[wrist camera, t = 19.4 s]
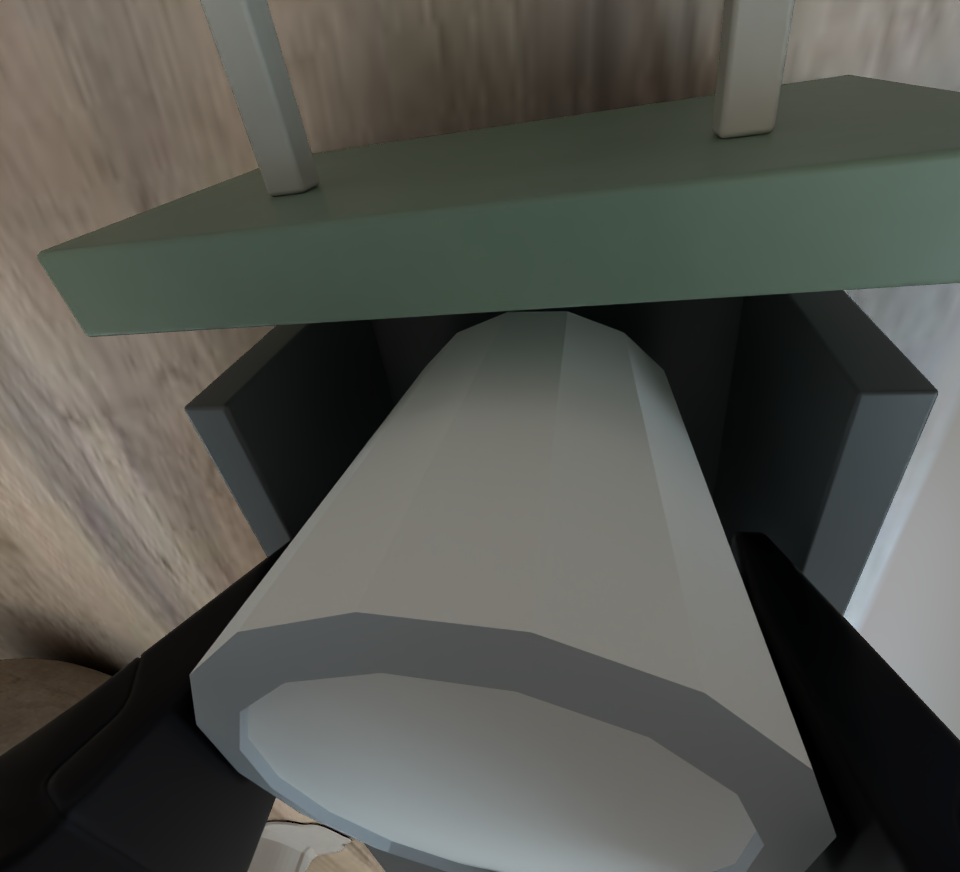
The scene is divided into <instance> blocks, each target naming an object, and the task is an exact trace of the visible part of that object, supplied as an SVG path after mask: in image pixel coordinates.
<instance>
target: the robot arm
mask: <svg viewBox="0 0 960 872" xmlns="http://www.w3.org/2000/svg"><path fill="white" fill-rule="evenodd" d="M294 538H295V537H294ZM294 538H292V539H291V540H290V541H288V542H287V543H286V544H284V545H283V546H282V547H281V548H279V549H278V550H277V551H275V552H274V553H273V554H271V555H270V556H269V557H268V558H266V559H265V560H264V561H262V562H261V563H260V564H258V565H257V566H256V567H254V568H253V569H252V570H251V571H249V572H248V573H247V574H245V575H244V576H243V577H241V578H240V579H239V580H238V581H236V582H235V583H234V584H232V585H231V586H230V587H228V588H227V589H226V590H225V591H223V592H222V593H221V594H219V595H218V596H217V597H215V598H214V599H213V600H212V601H210V602H209V603H208V604H206V605H205V606H204V607H202V608H201V609H200V610H199V611H197V612H196V613H195V614H193V615H192V616H191V617H189V618H188V619H187V620H185V621H184V622H183V623H182V624H180V625H179V626H178V627H176V628H175V629H174V630H172V631H171V632H170V633H169V634H167V635H166V636H165V637H163V638H162V639H161V640H159V641H158V642H157V643H156V644H154V645H153V646H152V647H150V648H149V649H148V650H146V651H145V652H144V653H143V654H142V655H141V657H140V658H136V659H135V660H133V661H132V662H131V663H129V664H128V665H127V666H125V667H124V668H123V669H121V670H120V671H119V672H118V673H116V674H115V675H114V676H112V677H111V678H110V679H108V680H107V681H106V682H104V683H103V684H102V685H100V686H99V687H98V688H96V689H95V690H93V691H92V692H91V693H89V694H88V695H87V696H85V697H84V698H83V699H81V700H80V701H79V702H77V703H76V704H74V705H73V706H72V707H70V708H69V709H67V710H66V711H64V712H63V713H62V714H60V715H59V716H57V717H56V718H54V719H53V720H52V721H50V722H49V723H47V724H46V725H44V726H43V727H42V728H40V729H39V730H37V731H36V732H34V733H33V734H31V735H30V736H28V737H27V738H25V739H24V740H22V741H21V742H20V743H18V744H17V745H15V746H14V747H12V748H11V749H9V750H8V751H6V752H5V753H3V754H2V755H0V872H248V869H249V867H250V864H251V861H252V859H253V856H254V854H255V851H256V848H257V846H258V843H259V840H260V838H261V835H262V832H263V830H264V827H265V825H266V822H267V819H268V817H269V814H270V811H271V809H272V806H273V803H274V801H275V798H276V797H275V796H274V795H272V794H271V793H269V792H267V791H266V790H264V789H263V788H261V787H260V786H258V785H257V784H255V783H254V782H252V781H251V780H249V779H248V778H246V777H245V776H243V775H242V774H240V773H239V772H238V771H237V770H236V769H235V768H234V767H233V766H232V764H231V763H230V762H229V761H228V760H227V759H226V758H225V757H224V755H223V754H222V753H221V752H220V751H219V750H218V749H217V747H216V746H215V745H214V744H213V743H212V742H211V741H210V740H209V738H208V737H207V736H206V735H205V734H204V733H203V732H202V730H201V729H200V728H199V727H198V726H197V725H196V719H195V712H194V704H193V697H192V690H191V683H190V674H191V672H192V671H193V670H194V668H195V667H196V666H197V664H198V663H199V662H200V660H201V659H202V658H203V657H204V655H205V654H206V653H207V651H208V650H209V649H210V647H211V646H212V645H213V644H214V642H215V641H216V640H217V638H218V637H219V636H220V634H221V633H222V632H223V630H224V629H225V628H226V627H227V625H228V624H229V623H230V621H231V620H232V619H233V617H234V616H235V615H236V613H237V612H238V611H239V610H240V608H241V607H242V606H243V604H244V603H245V602H246V600H247V599H248V598H249V596H250V595H251V594H252V593H253V591H254V590H255V589H256V587H257V586H258V585H259V583H260V582H261V581H262V580H263V578H264V577H265V576H266V574H267V573H268V572H269V570H270V569H271V568H272V566H273V565H274V564H275V563H276V561H277V560H278V559H279V557H280V556H281V555H282V553H283V552H284V551H285V549H286V548H287V547H288V546H289V544H290V543H291V542H292V540H293V539H294ZM730 549H731V551H732V554H733V557H734V559H735V562H736V565H737V567H738V570H739V573H740V576H741V578H742V581H743V584H744V586H745V589H746V592H747V594H748V597H749V600H750V602H751V605H752V608H753V610H754V613H755V616H756V618H757V621H758V624H759V627H760V629H761V632H762V635H763V637H764V640H765V643H766V645H767V648H768V651H769V653H770V656H771V659H772V661H773V664H774V667H775V669H776V672H777V675H778V678H779V680H780V683H781V686H782V688H783V691H784V694H785V696H786V699H787V702H788V704H789V707H790V710H791V712H792V715H793V718H794V720H795V723H796V726H797V729H798V731H799V734H800V737H801V739H802V742H803V745H804V747H805V750H806V753H807V755H808V758H809V761H810V763H811V766H812V769H813V772H814V774H815V777H816V780H817V783H818V786H819V788H820V791H821V794H822V797H823V800H824V803H825V805H826V808H827V811H828V814H829V817H830V819H831V822H832V825H833V828H834V831H835V834H836V836H837V837H836V838H835V839H834V840H833V841H832V842H831V843H830V844H829V845H828V847H827V848H826V849H825V850H824V851H823V852H822V853H821V854H820V855H819V856H818V858H817V859H816V860H815V861H814V862H813V863H812V864H811V865H810V866H809V867H808V869H807V870H806V871H805V872H960V740H959V739H958V738H957V737H956V736H955V735H954V734H953V733H952V732H951V730H950V729H949V728H948V727H947V726H946V725H945V724H944V723H943V722H942V721H941V720H940V719H939V718H938V717H937V716H936V715H935V713H934V712H932V710H931V709H930V708H929V707H928V706H927V705H926V704H925V703H924V702H923V701H922V700H921V699H920V698H919V697H918V695H917V694H916V693H915V692H914V691H913V690H912V689H911V688H910V687H909V686H908V685H907V684H906V683H905V682H904V681H903V680H902V679H901V677H899V675H897V673H896V672H895V671H894V670H893V669H892V668H891V667H890V666H889V665H888V664H887V663H886V662H885V660H884V659H883V658H882V657H881V656H880V655H879V654H878V653H877V652H876V651H875V650H874V649H873V648H872V647H871V646H870V645H869V643H867V641H866V640H865V639H864V638H863V637H862V636H861V635H860V634H859V633H858V632H857V631H856V630H855V629H854V628H853V626H852V625H851V624H850V623H849V622H848V621H847V620H846V619H845V618H844V617H843V616H842V615H841V614H840V613H839V612H838V611H837V609H836V608H835V607H834V606H833V605H832V604H831V603H830V602H829V601H828V600H827V599H826V598H825V597H824V596H823V595H822V594H821V593H820V591H819V590H818V589H817V588H816V587H815V586H814V585H813V584H812V583H811V582H810V581H809V580H808V579H807V578H806V577H805V576H804V574H803V573H802V572H801V571H800V570H799V569H798V568H797V567H796V566H795V565H794V564H793V563H792V562H791V561H790V560H789V559H788V557H787V556H786V555H785V554H784V553H783V552H782V551H781V550H780V549H779V548H778V547H777V546H776V545H775V544H774V543H773V542H772V541H771V539H770V538H769V537H768V536H767V535H765V534H763V533H761V532H741V531H738V532H735V533H734V535H733V536H732V540H731V545H730Z"/></svg>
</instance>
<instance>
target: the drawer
mask: <svg viewBox="0 0 960 872" xmlns="http://www.w3.org/2000/svg"><path fill="white" fill-rule="evenodd" d="M200 1H201V4H202V7H203V10H204V13H205V16H206V18H207V21H208V24H209V27H210V30H211V33H212V35H213V38H214V41H215V44H216V47H217V50H218V52H219V55H220V58H221V61H222V64H223V67H224V69H225V72H226V75H227V78H228V81H229V84H230V86H231V89H232V92H233V95H234V98H235V101H236V103H237V106H238V109H239V112H240V115H241V118H242V120H243V123H244V126H245V129H246V132H247V135H248V137H249V140H250V143H251V146H252V149H253V152H254V154H255V157H256V160H257V163H258V166H259V168H258V169H255V170H252V171H250V172H247V173H245V174H242V175H239V176H237V177H234V178H232V179H229V180H226V181H224V182H221V183H218V184H216V185H213V186H211V187H208V188H205V189H203V190H200V191H197V192H195V193H192V194H190V195H187V196H184V197H182V198H179V199H177V200H174V201H171V202H169V203H166V204H163V205H161V206H158V207H156V208H153V209H150V210H148V211H145V212H142V213H140V214H137V215H135V216H132V217H129V218H127V219H124V220H122V221H119V222H116V223H114V224H111V225H108V226H106V227H103V228H101V229H98V230H95V231H93V232H90V233H87V234H85V235H82V236H80V237H77V238H74V239H72V240H69V241H67V242H64V243H61V244H59V245H56V246H53V247H51V248H48V249H46V250H43V251H41V252H40V253H39V254H38V255H37V257H38V260H39V262H40V263H41V265H42V266H43V268H44V269H45V271H46V273H47V274H48V276H49V277H50V279H51V281H52V282H53V284H54V285H55V287H56V288H57V290H58V292H59V293H60V295H61V296H62V298H63V299H64V301H65V303H66V304H67V306H68V307H69V309H70V310H71V312H72V314H73V315H74V317H75V318H76V320H77V321H78V323H79V325H80V326H81V328H82V329H83V331H84V333H85V334H86V335H87V336H89V337H97V336H113V335H129V334H145V333H161V332H177V331H193V330H209V329H225V328H241V327H257V326H273V325H277V326H276V327H275V328H273V329H272V330H271V331H270V332H269V333H268V334H267V335H265V336H264V337H263V338H262V339H261V340H260V341H259V342H258V343H256V344H255V345H254V346H253V347H252V348H251V349H250V350H248V351H247V352H246V353H245V354H244V355H243V356H242V357H241V358H239V359H238V360H237V361H236V362H235V363H234V364H233V365H232V366H230V367H229V368H228V369H227V370H226V371H225V372H224V373H222V374H221V375H220V376H219V377H218V378H217V379H216V380H215V381H213V382H212V383H211V384H210V385H209V386H208V387H207V388H205V389H204V390H203V391H202V392H201V393H200V394H199V395H198V396H196V397H195V398H194V399H193V400H192V401H191V402H190V403H189V404H187V405H186V406H185V412H186V414H187V416H188V417H189V419H190V421H191V423H192V424H193V426H194V428H195V430H196V431H197V433H198V435H199V437H200V439H201V440H202V442H203V444H204V446H205V447H206V449H207V451H208V453H209V454H210V456H211V458H212V460H213V461H214V463H215V465H216V467H217V468H218V470H219V472H220V474H221V476H222V477H223V479H224V481H225V483H226V484H227V486H228V488H229V490H230V491H231V493H232V495H233V497H234V498H235V500H236V502H237V504H238V506H239V507H240V509H241V511H242V513H243V514H244V516H245V518H246V520H247V521H248V523H249V525H250V527H251V528H252V530H253V532H254V534H255V536H256V537H257V539H258V541H259V543H260V544H261V546H262V548H263V550H264V551H265V553H266V555H267V557H269V556H270V555H271V554H273V553H274V552H275V551H277V550H278V549H279V548H281V547H282V546H283V545H284V544H286V543H287V542H288V541H290V540H291V539H292V538H294V537H295V536H296V535H297V534H298V533H299V531H300V530H301V529H302V527H303V526H304V525H305V523H306V522H307V521H308V519H309V518H310V517H311V516H312V514H313V513H314V512H315V510H316V509H317V508H318V506H319V505H320V504H321V502H322V501H323V500H324V499H325V497H326V496H327V495H328V493H329V492H330V491H331V489H332V488H333V487H334V486H335V484H336V483H337V482H338V480H339V479H340V478H341V476H342V475H343V474H344V472H345V471H346V470H347V469H348V467H349V466H350V465H351V463H352V462H353V461H354V459H355V458H356V457H357V455H358V454H359V453H360V452H361V450H362V449H363V448H364V446H365V445H366V444H367V442H368V441H369V440H370V438H371V437H372V436H373V435H374V433H375V432H376V431H377V429H378V428H379V427H380V425H381V424H382V423H383V422H384V420H385V419H386V418H387V416H388V415H389V414H390V412H391V411H392V410H393V408H394V407H395V406H396V405H397V403H398V402H399V401H400V399H401V398H402V397H403V395H404V394H405V393H406V391H407V390H408V389H409V388H410V386H411V385H412V384H413V382H414V381H415V380H416V378H417V377H418V376H419V375H420V373H421V372H422V371H423V369H424V368H425V367H426V366H427V365H428V364H429V363H430V361H431V360H432V359H433V358H434V357H435V356H436V355H437V354H438V353H439V352H440V351H441V350H442V348H443V347H444V346H445V345H446V344H447V343H448V342H449V341H450V340H451V339H452V338H453V337H454V336H455V334H456V333H458V332H460V331H463V330H465V329H468V328H470V327H472V326H475V325H477V324H480V323H482V322H484V321H487V320H489V319H492V318H494V317H496V316H499V315H501V314H504V313H506V312H553V311H568V312H571V313H573V314H576V315H579V316H581V317H584V318H587V319H589V320H592V321H595V322H597V323H600V324H603V325H605V326H608V327H611V328H613V329H616V330H619V331H621V332H624V333H625V334H626V335H627V336H628V337H629V338H630V339H631V340H632V341H634V342H635V343H636V344H637V345H638V346H639V347H640V348H641V349H642V350H643V351H644V352H645V353H646V354H647V355H648V356H649V357H650V358H651V359H653V360H654V361H655V362H656V363H657V364H658V365H659V366H660V367H661V368H662V369H663V370H664V372H665V374H666V377H667V380H668V382H669V385H670V388H671V390H672V393H673V396H674V398H675V401H676V404H677V406H678V409H679V412H680V414H681V417H682V420H683V423H684V425H685V428H686V431H687V433H688V436H689V439H690V441H691V444H692V447H693V449H694V452H695V455H696V457H697V460H698V463H699V465H700V468H701V471H702V474H703V476H704V479H705V482H706V484H707V487H708V490H709V492H710V495H711V498H712V500H713V503H714V506H715V508H716V511H717V514H718V516H719V519H720V522H721V525H722V527H723V530H724V533H725V535H726V538H727V541H728V543H729V546H730V545H731V540H732V536H733V535H734V533H735V532H738V531H741V532H761V533H763V534H765V535H767V536H768V537H769V538H770V539H771V541H772V542H773V543H774V544H775V545H776V546H777V547H778V548H779V549H780V550H781V551H782V552H783V553H784V554H785V555H786V556H787V557H788V559H789V560H790V561H791V562H792V563H793V564H794V565H795V566H796V567H797V568H798V569H799V570H800V571H801V572H802V573H803V574H804V576H805V577H806V578H807V579H808V580H809V581H810V582H811V583H812V584H813V585H814V586H815V587H816V588H817V589H818V590H819V591H820V593H821V594H822V595H823V596H824V597H825V598H826V599H827V600H828V601H829V602H830V603H831V604H832V605H833V606H834V607H835V608H836V609H837V611H838V612H839V613H840V614H841V615H842V616H843V615H844V613H845V611H846V608H847V606H848V604H849V601H850V599H851V597H852V594H853V592H854V590H855V587H856V585H857V582H858V580H859V578H860V575H861V573H862V571H863V568H864V566H865V564H866V561H867V559H868V557H869V554H870V552H871V550H872V547H873V545H874V543H875V540H876V538H877V536H878V533H879V531H880V529H881V526H882V524H883V522H884V519H885V517H886V515H887V512H888V510H889V508H890V505H891V503H892V501H893V498H894V496H895V494H896V491H897V489H898V487H899V484H900V482H901V480H902V477H903V475H904V473H905V470H906V468H907V466H908V463H909V461H910V459H911V456H912V454H913V452H914V449H915V447H916V445H917V442H918V440H919V438H920V435H921V433H922V431H923V428H924V426H925V424H926V421H927V419H928V417H929V414H930V412H931V410H932V407H933V405H934V403H935V400H936V398H937V396H938V391H937V389H936V388H935V387H934V386H933V385H932V384H931V383H930V382H929V381H928V380H927V379H926V378H925V377H924V375H923V374H922V373H921V372H920V371H919V370H918V369H917V368H916V367H915V366H914V365H913V364H912V363H911V362H910V361H909V360H908V358H907V357H906V356H905V355H904V354H903V353H902V352H901V351H900V350H899V349H898V348H897V347H896V346H895V345H894V344H893V343H892V341H891V340H890V339H889V338H888V337H887V336H886V335H885V334H884V333H883V332H882V331H881V330H880V329H879V328H878V327H877V326H876V325H875V323H874V322H873V321H872V320H871V319H870V318H869V317H868V316H867V315H866V314H865V313H864V312H863V311H862V310H861V309H860V308H859V306H858V305H857V304H856V303H855V302H854V301H853V300H852V299H851V298H850V297H849V296H848V295H847V294H846V293H845V292H844V291H843V290H852V289H868V288H884V287H900V286H916V285H932V284H948V283H960V92H955V91H949V90H942V89H936V88H929V87H923V86H917V85H910V84H904V83H898V82H891V81H885V80H879V79H872V78H866V77H859V76H853V75H845V76H838V77H831V78H824V79H818V80H811V81H804V82H797V83H790V84H784V85H781V83H782V77H783V71H784V65H785V58H786V52H787V46H788V39H789V33H790V27H791V21H792V14H793V8H794V2H795V0H725V1H724V11H723V21H722V31H721V42H720V52H719V62H718V72H717V82H716V92H715V95H709V96H702V97H695V98H688V99H681V100H675V101H668V102H661V103H654V104H647V105H641V106H634V107H627V108H620V109H613V110H607V111H600V112H593V113H586V114H579V115H572V116H566V117H559V118H552V119H545V120H538V121H532V122H525V123H518V124H511V125H504V126H498V127H491V128H484V129H477V130H470V131H464V132H457V133H450V134H443V135H436V136H429V137H423V138H416V139H409V140H402V141H395V142H389V143H382V144H375V145H368V146H361V147H355V148H348V149H341V150H334V151H327V152H320V153H314V154H312V153H311V149H310V146H309V142H308V139H307V136H306V132H305V129H304V126H303V122H302V119H301V115H300V112H299V109H298V105H297V102H296V99H295V95H294V92H293V88H292V85H291V82H290V78H289V75H288V72H287V68H286V65H285V61H284V58H283V55H282V51H281V48H280V45H279V41H278V38H277V34H276V31H275V28H274V24H273V21H272V18H271V14H270V11H269V7H268V4H267V1H266V0H200Z"/></svg>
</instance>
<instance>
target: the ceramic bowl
mask: <svg viewBox="0 0 960 872" xmlns="http://www.w3.org/2000/svg"><path fill="white" fill-rule="evenodd" d="M111 677H112V676H111V675H108V674H105V673H102V672H99V671H96V670H93V669H90V668H87V667H83V666H80V665H76V664H72V663H68V662H63V661H59V660H49V659H37V658H22V659H5V660H0V755H2V754H3V753H5V752H6V751H8V750H9V749H11V748H12V747H14V746H15V745H17V744H18V743H20V742H21V741H22V740H24V739H25V738H27V737H28V736H30V735H31V734H33V733H34V732H36V731H37V730H39V729H40V728H42V727H43V726H44V725H46V724H47V723H49V722H50V721H52V720H53V719H54V718H56V717H57V716H59V715H60V714H62V713H63V712H64V711H66V710H67V709H69V708H70V707H72V706H73V705H74V704H76V703H77V702H79V701H80V700H81V699H83V698H84V697H85V696H87V695H88V694H89V693H91V692H92V691H93V690H95V689H96V688H98V687H99V686H100V685H102V684H103V683H104V682H106V681H107V680H108V679H110V678H111Z"/></svg>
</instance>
